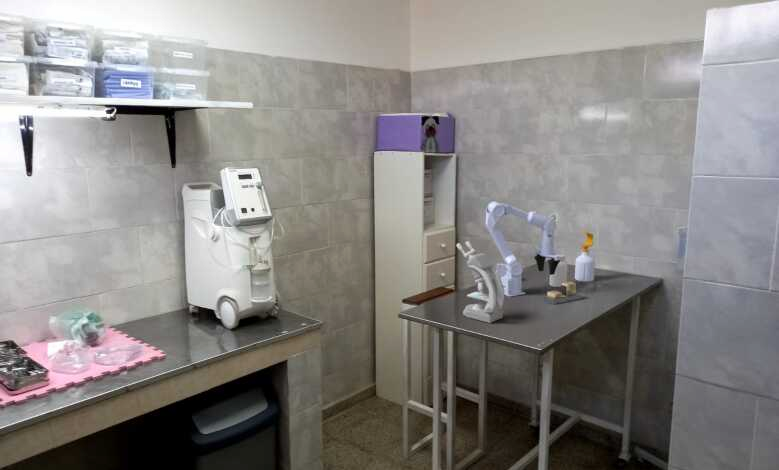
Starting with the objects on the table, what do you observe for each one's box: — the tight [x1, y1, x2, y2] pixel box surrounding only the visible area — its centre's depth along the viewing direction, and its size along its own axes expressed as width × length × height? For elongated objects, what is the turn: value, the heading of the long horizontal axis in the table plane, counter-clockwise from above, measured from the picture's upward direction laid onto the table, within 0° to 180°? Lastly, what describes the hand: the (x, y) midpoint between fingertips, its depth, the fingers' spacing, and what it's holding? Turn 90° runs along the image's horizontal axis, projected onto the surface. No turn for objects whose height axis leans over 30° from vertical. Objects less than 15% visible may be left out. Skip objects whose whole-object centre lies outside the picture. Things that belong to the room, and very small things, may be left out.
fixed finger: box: [546, 290, 562, 299], centre depth 245 cm, size 4×5×3 cm
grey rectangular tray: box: [542, 292, 583, 305], centre depth 247 cm, size 16×7×2 cm, turn 116°
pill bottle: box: [549, 253, 568, 288], centre depth 269 cm, size 8×8×15 cm
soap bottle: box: [574, 231, 596, 283], centre depth 278 cm, size 9×9×25 cm
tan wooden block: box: [560, 281, 577, 297], centre depth 248 cm, size 5×4×6 cm, turn 116°
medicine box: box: [495, 263, 507, 279], centre depth 280 cm, size 8×4×9 cm, turn 84°
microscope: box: [455, 240, 505, 324], centre depth 225 cm, size 11×19×30 cm, turn 45°
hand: (546, 272), depth 258 cm, fingers open, 7 cm apart
